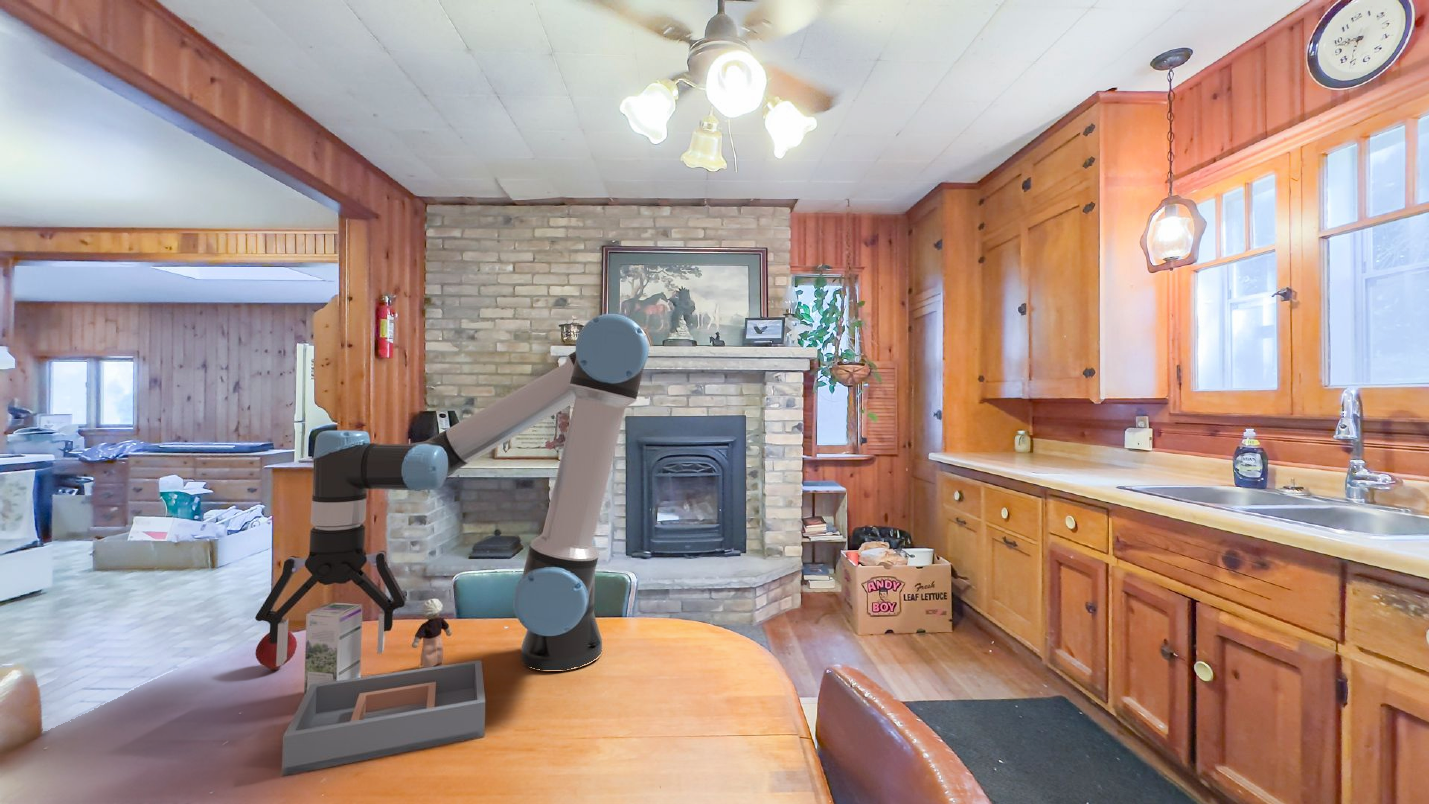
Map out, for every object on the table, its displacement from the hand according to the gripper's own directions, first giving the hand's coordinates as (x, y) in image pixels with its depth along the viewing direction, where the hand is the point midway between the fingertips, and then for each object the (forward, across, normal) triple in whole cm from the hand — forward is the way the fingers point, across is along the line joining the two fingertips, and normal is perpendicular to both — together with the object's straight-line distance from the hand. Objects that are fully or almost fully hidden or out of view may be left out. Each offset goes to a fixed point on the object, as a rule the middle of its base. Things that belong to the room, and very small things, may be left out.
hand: (332, 656), depth 93 cm
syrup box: (+7, 0, 0) cm, 7 cm away
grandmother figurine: (+7, -14, -5) cm, 16 cm away
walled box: (+6, -10, +14) cm, 18 cm away
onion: (+7, +11, -15) cm, 20 cm away
